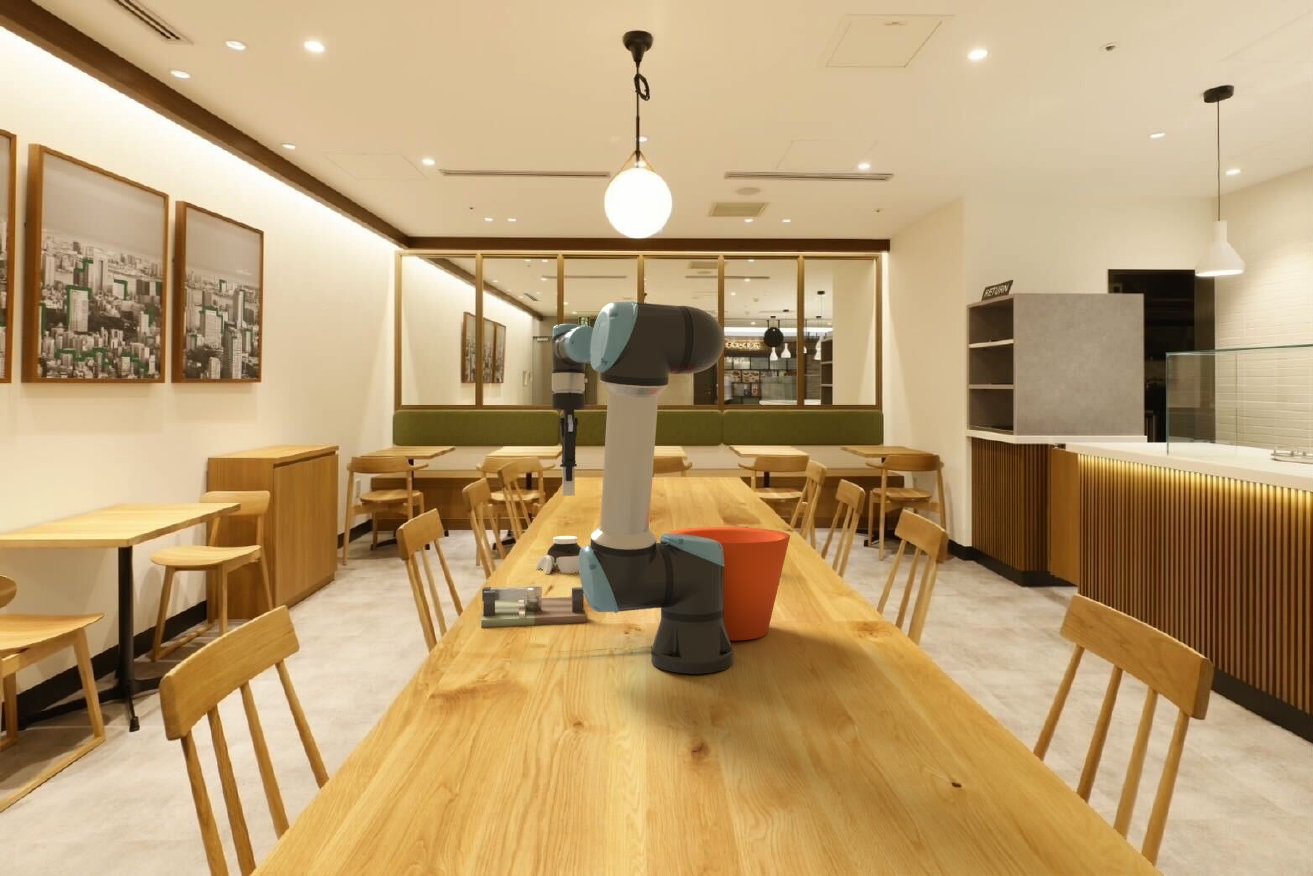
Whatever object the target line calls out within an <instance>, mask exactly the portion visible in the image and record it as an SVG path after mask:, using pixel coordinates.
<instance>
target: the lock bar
mask: <svg viewBox="0 0 1313 876" xmlns="http://www.w3.org/2000/svg"><path fill="white" fill-rule="evenodd" d="M481 590H482V591H481V592H482V594H481V595H482V596H481V597H482V598H481V599H482V601H481V602H483V592H484V591H493V590H495V600H525V609H526V610H529V611H536V610H541V609H542V598H543V592H542V591H543V587H542V586H535V585H534V586H533V585H532V586H501V587H499V586H498V587H497V586H496V587H495V586H494V587H491V586H483V588H482V589H481Z"/></svg>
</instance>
